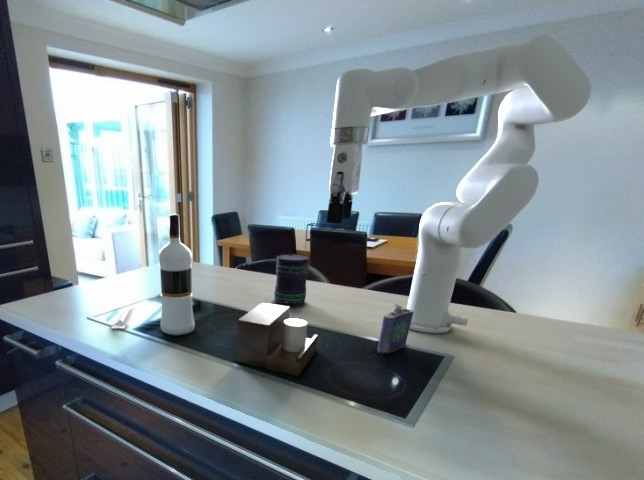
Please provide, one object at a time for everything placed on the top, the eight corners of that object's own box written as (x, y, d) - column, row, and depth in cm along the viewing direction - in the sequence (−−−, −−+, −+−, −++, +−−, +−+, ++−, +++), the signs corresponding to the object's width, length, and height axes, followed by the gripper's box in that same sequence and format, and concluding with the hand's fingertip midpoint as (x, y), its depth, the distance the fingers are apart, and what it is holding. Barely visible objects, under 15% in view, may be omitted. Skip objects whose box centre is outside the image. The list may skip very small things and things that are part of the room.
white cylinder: (307, 345, 87) (310, 320, 84) (301, 354, 83) (303, 328, 80) (285, 341, 89) (287, 317, 87) (278, 349, 85) (280, 323, 83)
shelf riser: (316, 351, 91) (320, 311, 87) (298, 376, 80) (303, 331, 76) (259, 340, 98) (261, 302, 94) (236, 361, 87) (237, 319, 83)
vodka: (154, 333, 103) (147, 215, 91) (171, 322, 111) (167, 212, 99) (184, 339, 99) (181, 216, 88) (200, 327, 107) (199, 213, 95)
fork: (135, 309, 122) (134, 303, 121) (121, 333, 103) (120, 326, 103) (124, 309, 122) (124, 303, 121) (109, 333, 103) (108, 326, 103)
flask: (384, 355, 89) (392, 310, 84) (372, 350, 91) (380, 307, 87) (408, 346, 93) (417, 303, 89) (397, 342, 95) (405, 300, 91)
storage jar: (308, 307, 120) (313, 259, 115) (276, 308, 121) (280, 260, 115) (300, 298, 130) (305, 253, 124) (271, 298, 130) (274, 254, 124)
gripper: (360, 134, 76) (348, 225, 82) (373, 140, 89) (362, 217, 96) (321, 137, 79) (312, 223, 86) (339, 142, 93) (330, 216, 99)
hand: (338, 220), depth 91 cm, fingers open, 9 cm apart
